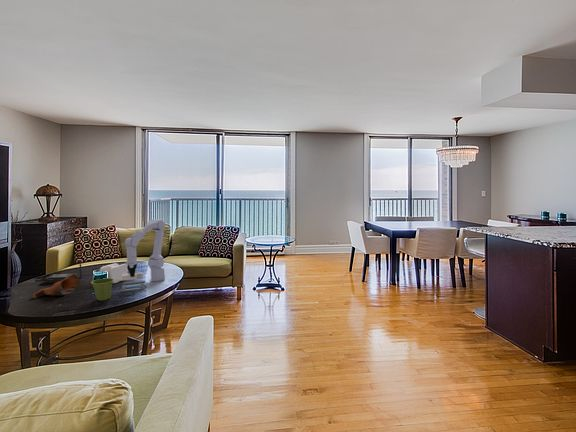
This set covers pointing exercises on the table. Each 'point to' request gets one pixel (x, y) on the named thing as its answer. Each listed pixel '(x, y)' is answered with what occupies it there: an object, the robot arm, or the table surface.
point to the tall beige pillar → (127, 277)
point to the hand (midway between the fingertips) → (132, 275)
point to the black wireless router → (60, 276)
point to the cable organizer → (115, 271)
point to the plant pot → (103, 288)
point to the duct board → (133, 286)
